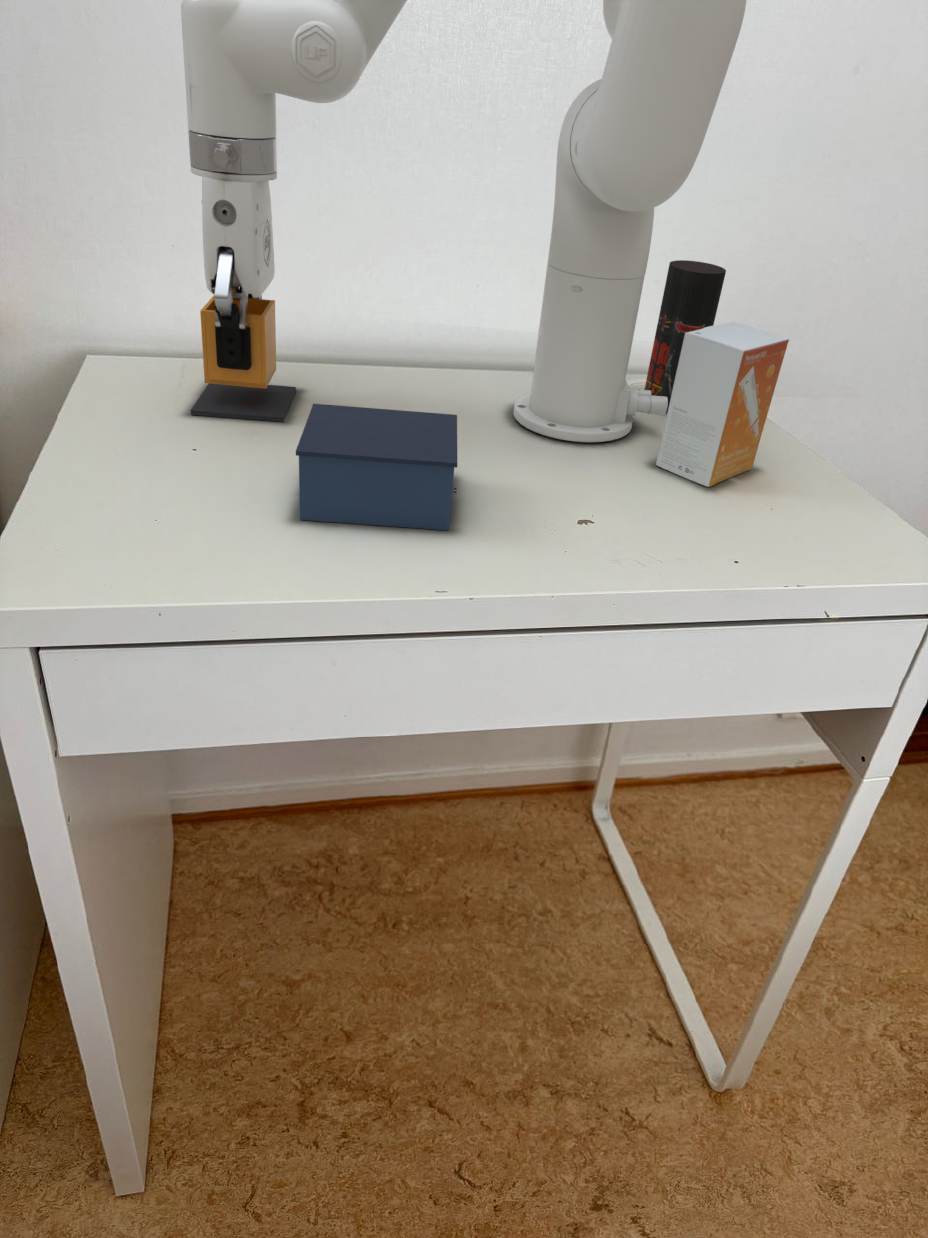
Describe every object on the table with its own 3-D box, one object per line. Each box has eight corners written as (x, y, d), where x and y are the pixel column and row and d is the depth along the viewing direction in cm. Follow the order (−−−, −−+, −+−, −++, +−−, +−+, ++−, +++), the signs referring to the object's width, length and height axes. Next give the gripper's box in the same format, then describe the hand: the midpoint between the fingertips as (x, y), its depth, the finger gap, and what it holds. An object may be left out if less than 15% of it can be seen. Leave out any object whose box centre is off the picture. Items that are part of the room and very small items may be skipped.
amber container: (276, 369, 95) (275, 300, 91) (266, 388, 90) (264, 316, 86) (217, 363, 94) (214, 294, 90) (204, 383, 89) (200, 310, 85)
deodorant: (655, 391, 108) (683, 257, 100) (702, 404, 105) (734, 268, 97) (633, 402, 103) (660, 264, 95) (681, 417, 101) (713, 276, 93)
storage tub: (451, 478, 82) (457, 414, 79) (451, 532, 73) (457, 462, 70) (313, 467, 82) (313, 403, 78) (296, 520, 73) (295, 450, 70)
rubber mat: (296, 391, 97) (296, 386, 97) (283, 422, 90) (283, 417, 90) (211, 384, 97) (210, 379, 97) (190, 414, 89) (190, 410, 89)
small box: (708, 489, 85) (744, 350, 78) (653, 465, 89) (682, 330, 81) (754, 469, 90) (791, 337, 83) (700, 448, 94) (731, 319, 86)
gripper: (258, 174, 74) (264, 389, 84) (290, 149, 89) (292, 336, 98) (165, 164, 74) (181, 382, 83) (212, 141, 88) (221, 329, 98)
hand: (241, 355), depth 91 cm, fingers closed on amber container, 6 cm apart
